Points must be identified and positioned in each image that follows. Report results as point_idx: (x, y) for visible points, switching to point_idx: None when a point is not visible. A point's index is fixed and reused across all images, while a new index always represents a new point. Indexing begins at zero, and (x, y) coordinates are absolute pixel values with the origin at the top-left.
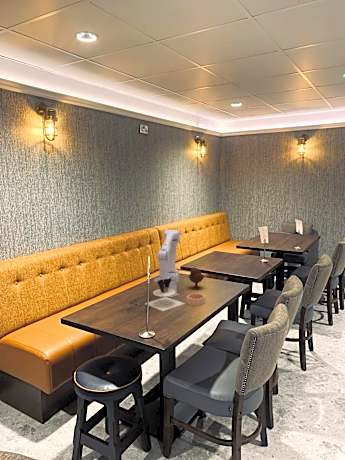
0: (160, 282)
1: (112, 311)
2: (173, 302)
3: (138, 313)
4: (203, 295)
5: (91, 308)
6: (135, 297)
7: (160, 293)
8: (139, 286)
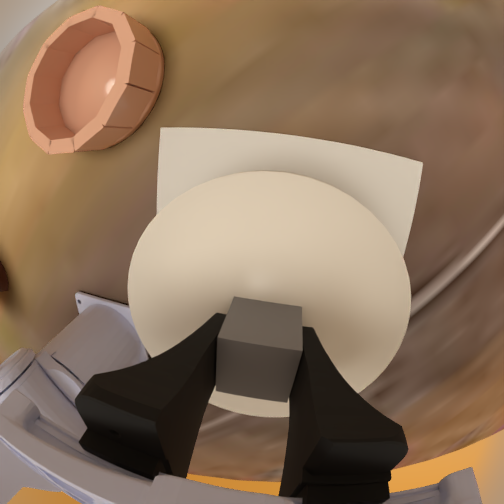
0: (391, 461)
1: (487, 389)
2: None
3: (495, 289)
4: (35, 65)
5: (465, 442)
6: None
7: (340, 332)
8: None
